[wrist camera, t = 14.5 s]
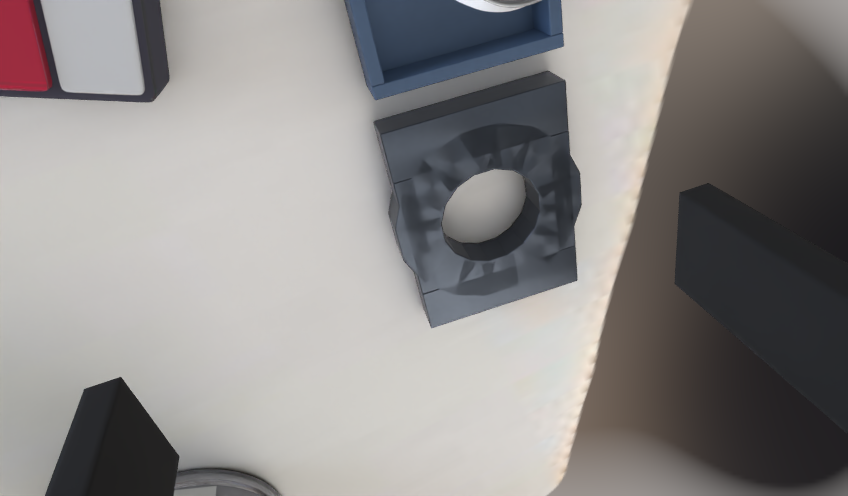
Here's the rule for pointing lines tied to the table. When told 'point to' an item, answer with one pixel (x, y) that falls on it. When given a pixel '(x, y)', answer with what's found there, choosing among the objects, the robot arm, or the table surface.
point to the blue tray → (444, 39)
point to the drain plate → (473, 154)
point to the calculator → (82, 49)
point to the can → (498, 4)
